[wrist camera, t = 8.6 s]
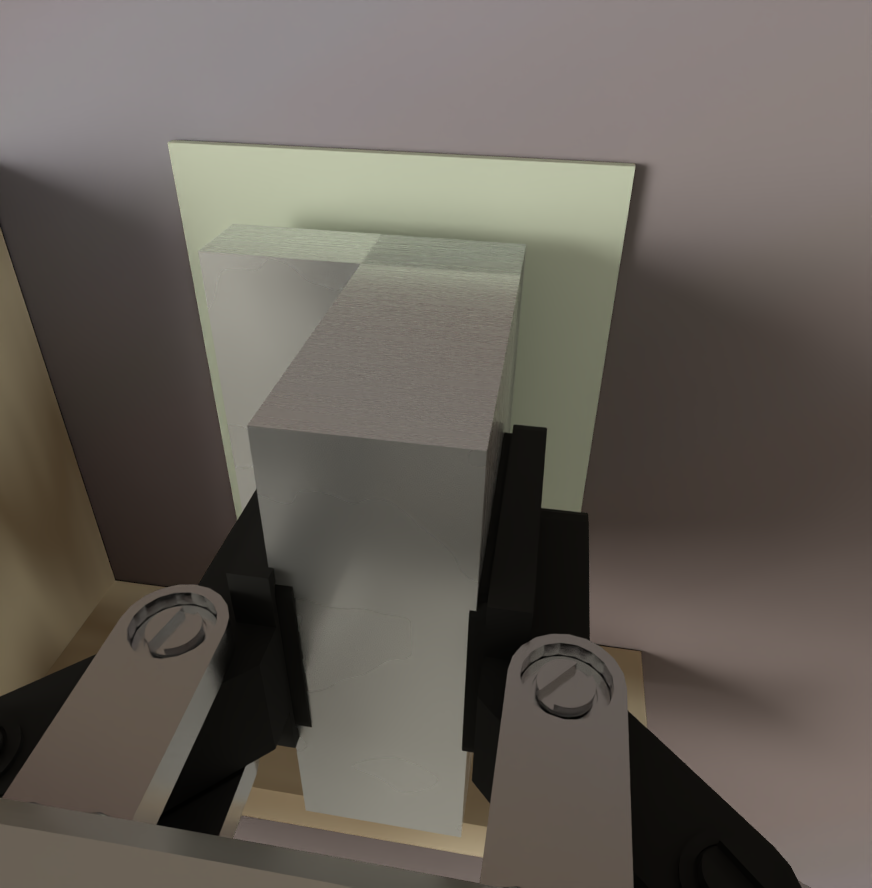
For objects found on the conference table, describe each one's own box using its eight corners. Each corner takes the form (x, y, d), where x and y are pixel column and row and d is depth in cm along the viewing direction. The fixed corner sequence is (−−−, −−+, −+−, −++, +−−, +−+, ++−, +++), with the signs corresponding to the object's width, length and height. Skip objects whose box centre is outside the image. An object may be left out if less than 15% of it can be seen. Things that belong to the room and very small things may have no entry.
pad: (570, 567, 17) (570, 573, 17) (242, 527, 18) (239, 532, 18) (634, 163, 12) (635, 167, 12) (172, 139, 13) (167, 142, 13)
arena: (633, 682, 19) (647, 886, 15) (85, 605, 21) (-36, 766, 17) (754, 202, 12) (843, 334, 8) (-80, 154, 14) (-355, 241, 10)
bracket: (525, 244, 12) (487, 451, 7) (498, 562, 16) (460, 838, 11) (232, 223, 13) (8, 400, 8) (276, 534, 16) (146, 782, 12)
